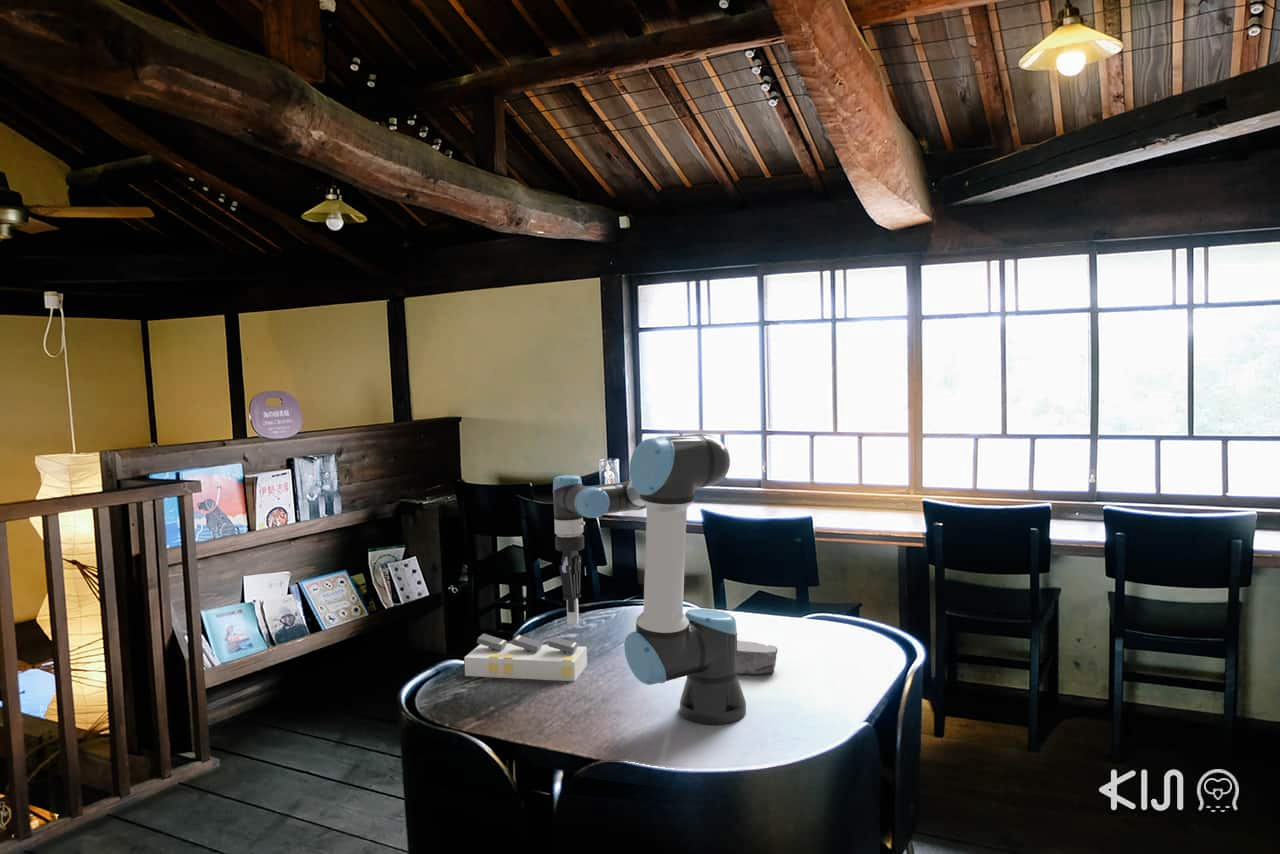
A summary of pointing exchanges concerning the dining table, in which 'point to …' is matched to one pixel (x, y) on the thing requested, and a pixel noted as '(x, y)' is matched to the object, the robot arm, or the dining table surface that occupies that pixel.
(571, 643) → the rocker near
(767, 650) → the decorative stone
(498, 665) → the switch console
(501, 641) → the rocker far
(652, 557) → the robot arm
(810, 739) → the dining table surface
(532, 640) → the rocker middle
